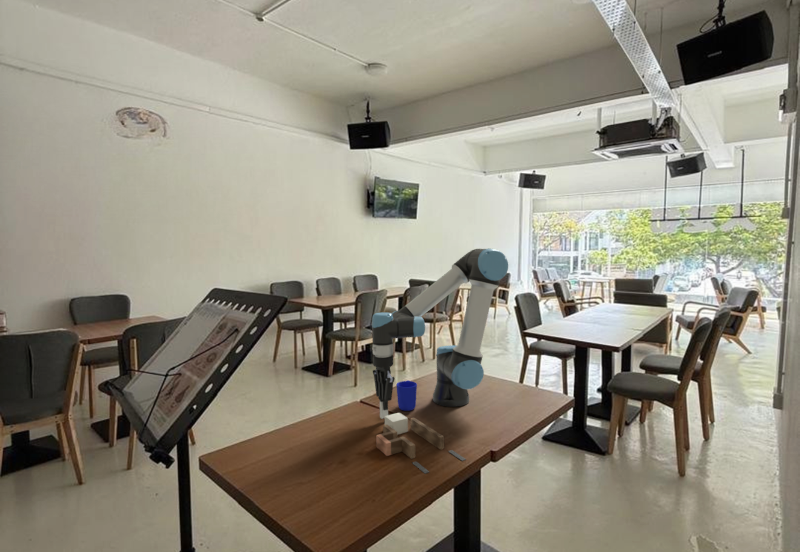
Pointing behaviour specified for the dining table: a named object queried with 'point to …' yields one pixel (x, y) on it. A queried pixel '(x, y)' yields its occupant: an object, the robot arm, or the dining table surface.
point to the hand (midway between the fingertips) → (384, 417)
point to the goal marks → (428, 471)
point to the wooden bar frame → (395, 445)
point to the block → (397, 422)
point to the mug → (406, 395)
